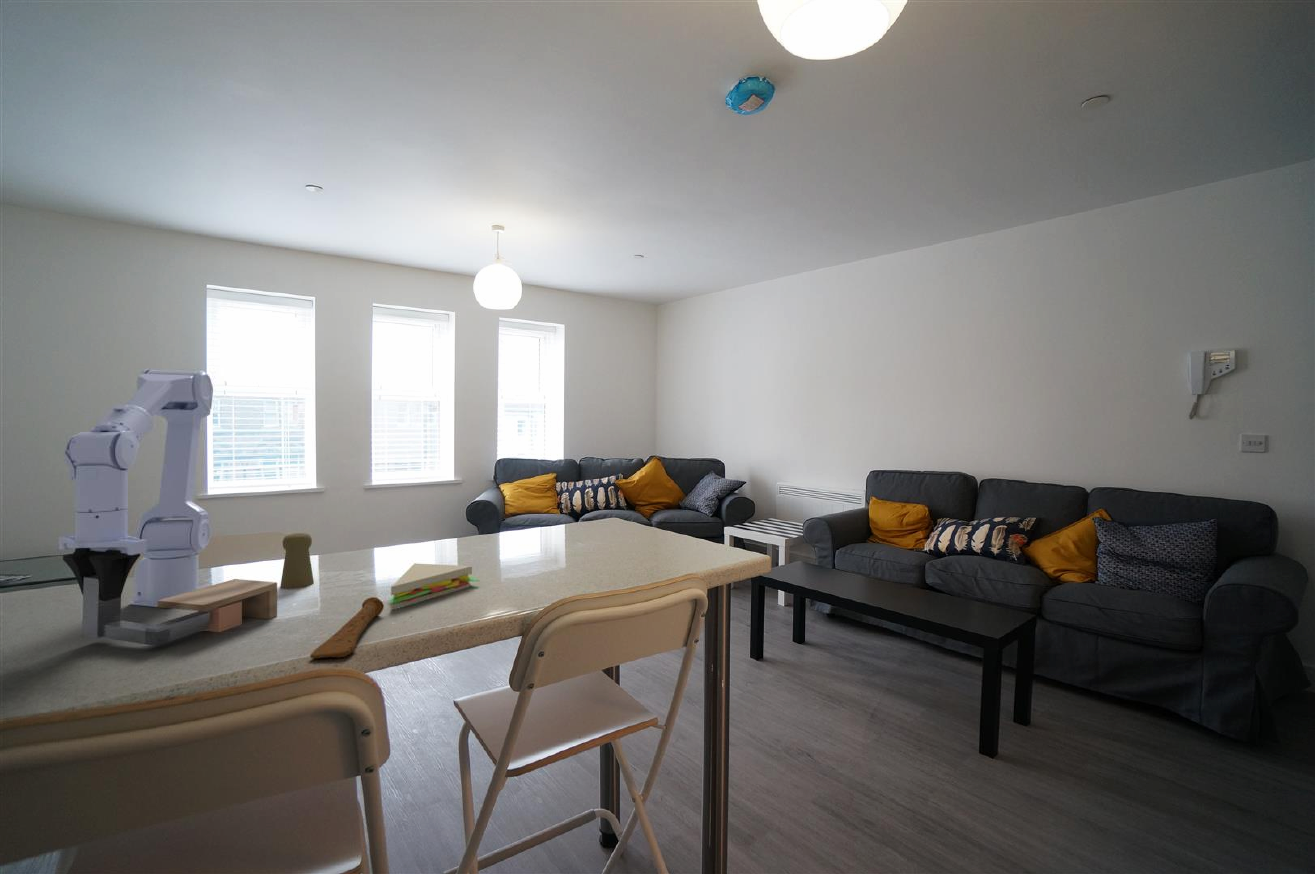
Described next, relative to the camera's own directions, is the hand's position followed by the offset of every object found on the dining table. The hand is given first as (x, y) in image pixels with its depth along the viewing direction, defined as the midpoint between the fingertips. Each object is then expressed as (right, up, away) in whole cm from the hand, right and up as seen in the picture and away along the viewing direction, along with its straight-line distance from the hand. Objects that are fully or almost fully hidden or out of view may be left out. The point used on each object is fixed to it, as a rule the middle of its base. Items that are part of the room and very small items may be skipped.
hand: (102, 598), depth 86 cm
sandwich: (+37, -8, +26) cm, 46 cm away
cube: (+12, -7, +8) cm, 16 cm away
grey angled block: (+5, -6, +2) cm, 8 cm away
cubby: (+12, -7, +8) cm, 16 cm away
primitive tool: (+31, -6, +2) cm, 32 cm away
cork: (+10, -7, +32) cm, 34 cm away
